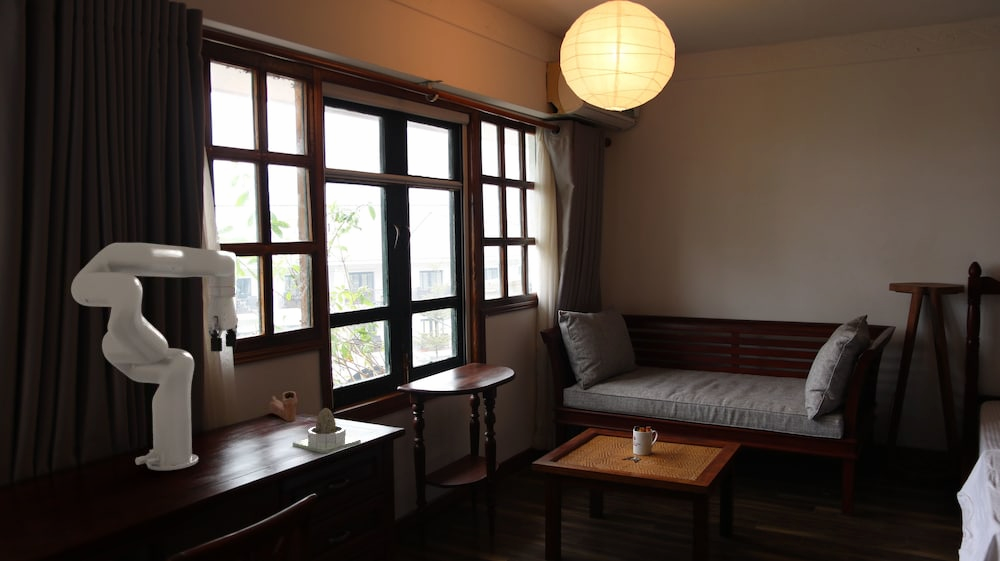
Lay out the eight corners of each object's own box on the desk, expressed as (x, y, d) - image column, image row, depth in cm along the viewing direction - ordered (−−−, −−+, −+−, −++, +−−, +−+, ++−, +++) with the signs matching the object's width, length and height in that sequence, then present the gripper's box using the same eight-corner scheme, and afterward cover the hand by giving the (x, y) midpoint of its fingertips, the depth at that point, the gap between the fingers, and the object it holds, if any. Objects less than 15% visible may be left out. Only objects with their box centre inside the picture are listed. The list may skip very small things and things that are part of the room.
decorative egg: (330, 444, 210) (330, 411, 210) (312, 443, 212) (311, 409, 211) (339, 439, 216) (339, 406, 216) (321, 438, 217) (321, 405, 217)
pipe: (285, 424, 239) (285, 394, 239) (265, 413, 253) (265, 385, 253) (300, 421, 242) (299, 392, 242) (279, 411, 256) (279, 384, 256)
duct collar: (325, 453, 204) (325, 438, 204) (292, 446, 212) (292, 431, 212) (360, 442, 216) (360, 427, 216) (328, 435, 224) (328, 421, 224)
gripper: (223, 290, 224) (224, 344, 225) (196, 294, 207) (198, 353, 208) (247, 290, 223) (248, 345, 224) (222, 294, 206) (223, 353, 207)
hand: (224, 348), depth 216 cm, fingers open, 9 cm apart
